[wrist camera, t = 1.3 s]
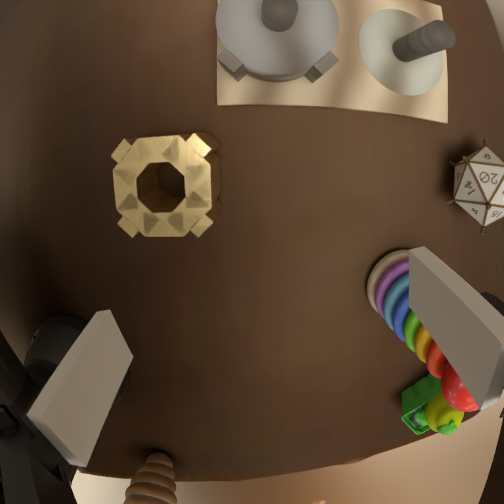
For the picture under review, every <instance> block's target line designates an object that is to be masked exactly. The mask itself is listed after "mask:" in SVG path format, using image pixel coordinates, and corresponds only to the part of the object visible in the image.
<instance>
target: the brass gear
mask: <svg viewBox="0 0 504 504" xmlns="http://www.w3.org/2000/svg"><path fill="white" fill-rule="evenodd" d="M219 146H220V144H219V143H218V142H217V141H216V140H215V139H214V138H213V137H212V136H211V135H210V134H208V133H207V132H200V133H194V134H177V135H163V136H154V137H149V136H141V137H133V138H126V139H123V141H122V142H121V143H120V144H119V146H118V147H117V148H116V150H115V151H114V152H113V154H112V155H111V157H112V158H113V159H114V160H115V161H116V162H118V164H117V165H116V167H115V168H114V169H113V179H114V190H115V200H116V209H117V211H118V212H119V213H120V214H121V215H122V216H123V217H122V218H121V219H120V221H119V222H118V223H117V224H118V225H119V226H120V227H121V228H122V229H123V230H124V231H126V232H127V233H128V234H129V235H130V236H131V237H132V238H133V237H134V236H135V235H136V234H137V233H138V232H139V231H140V232H141V233H142V234H143V235H144V236H145V237H184V236H185V235H186V234H187V233H188V232H189V231H192V232H193V233H194V234H195V235H196V236H197V237H198V238H199V237H200V236H201V235H202V234H203V233H204V231H205V230H206V229H207V228H208V227H209V226H210V225H211V224H212V223H213V222H214V220H215V218H216V216H217V214H218V212H219V210H220V208H221V205H222V204H221V203H220V202H219V201H218V200H217V198H218V196H219V194H220V193H221V186H220V157H219V156H218V155H217V154H216V153H215V152H214V151H215V150H216V149H217V148H218V147H219ZM163 162H170V163H171V164H172V165H173V166H174V167H175V168H176V169H177V170H178V171H179V172H181V173H182V174H183V175H184V176H185V194H186V196H181V197H171V196H170V195H169V194H168V193H167V192H166V191H165V190H164V189H162V188H161V187H160V186H159V175H158V168H159V167H160V166H161V165H162V163H163Z"/></svg>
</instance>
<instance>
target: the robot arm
mask: <svg viewBox="0 0 504 504" xmlns="http://www.w3.org/2000/svg"><path fill="white" fill-rule="evenodd" d="M409 307H410V308H411V309H412V311H413V312H414V313H415V315H416V316H417V317H418V319H419V320H420V322H421V323H422V324H423V326H424V327H425V328H426V330H427V331H428V333H429V334H430V335H431V337H432V338H433V340H434V341H435V342H436V344H437V345H438V347H439V348H440V349H441V351H442V352H443V354H444V355H445V357H446V358H447V360H448V361H449V363H450V364H451V365H452V367H453V368H454V370H455V371H456V373H457V374H458V376H459V377H460V379H461V381H462V382H463V384H464V385H465V387H466V388H467V390H468V391H469V393H470V394H471V396H472V398H473V399H474V401H475V402H476V404H477V406H478V407H479V409H480V410H482V409H484V408H486V407H488V406H490V405H492V404H494V403H496V402H498V401H499V399H500V396H501V394H502V391H503V389H504V303H503V302H502V301H501V300H500V299H499V298H498V297H496V296H494V295H492V294H489V293H487V292H484V293H481V294H479V293H478V292H477V291H476V290H475V289H474V288H472V287H471V286H470V285H469V284H468V283H467V282H466V281H465V280H463V279H462V278H461V277H460V276H459V275H458V274H457V273H455V272H454V271H453V270H452V269H451V268H450V267H448V266H447V265H446V264H445V263H444V262H443V261H441V260H440V259H439V258H438V257H437V256H435V255H434V254H433V253H432V252H430V251H429V250H428V249H427V248H426V247H424V246H423V247H419V248H414V249H410V250H409ZM132 359H133V355H132V354H131V352H130V350H129V348H128V346H127V344H126V342H125V340H124V338H123V336H122V334H121V332H120V330H119V328H118V325H117V323H116V321H115V319H114V317H113V315H112V313H111V310H105V311H98V312H96V314H95V315H94V316H93V318H92V319H91V320H90V322H89V323H88V322H86V321H84V320H81V319H79V318H76V317H73V316H68V315H55V316H51V317H49V318H47V319H46V320H44V321H43V322H42V324H41V325H40V326H39V327H38V328H37V329H36V331H35V332H34V334H33V336H32V339H31V344H30V348H29V350H28V352H27V355H26V358H25V361H24V364H23V365H22V363H21V362H20V360H19V359H18V357H17V356H16V354H15V353H14V351H13V350H12V348H11V347H10V345H9V343H8V342H7V340H6V339H5V337H4V335H3V334H2V332H1V330H0V504H77V502H76V499H75V497H74V494H73V492H72V489H71V484H72V480H73V478H74V475H75V473H76V470H77V468H78V466H82V467H86V466H87V464H88V461H89V458H90V456H91V453H92V451H93V448H94V446H95V444H96V441H97V439H98V436H99V434H100V431H101V429H102V427H103V424H104V422H105V419H106V417H107V415H108V412H109V410H110V408H111V407H112V406H114V405H115V404H116V403H117V402H119V401H120V399H121V398H122V397H123V395H124V393H125V390H126V388H127V386H128V383H129V369H128V367H129V365H130V363H131V361H132ZM503 415H504V408H503V411H502V412H501V415H500V418H502V417H503V421H502V426H501V431H500V435H499V439H498V443H497V447H496V451H495V455H494V458H493V462H492V465H491V469H490V472H489V475H488V478H487V481H486V484H485V487H484V490H483V493H482V496H481V498H480V501H479V504H504V416H503Z"/></svg>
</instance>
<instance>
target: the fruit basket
mask: <svg viewBox="0 0 504 504" xmlns="http://www.w3.org/2000/svg"><path fill="white" fill-rule="evenodd" d="M402 411H403V412H402V420H403V421H404V422H405V423H406V424H407V425H408V426H409V427H410V428H411V429H412V430H413V432H414V433H416V434H422V433H424V432H425V431H427V430H429V429H430V428H431V429H432V430H433V431H436V432H438V433H441V434H446V435H448V434H452V433H453V432H455V431H456V429H457V427H458V426H459V425H460V423H461V421H462V418H463V415H464V411H459V410H456V409H454V408H453V407H451V406H450V405H449V404H448V403H447V401H446V400H445V398H444V396H443V394H442V390H441V378H437V377H434V376H433V375H432V374H431V373H429V374H428V375H427V377H424V378H422V379H421V380H419V381H418V382H416V383H415V384H414V385H413V386H411V387H409V388H407V389H406V390H404V391H403V392H402Z"/></svg>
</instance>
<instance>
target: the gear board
mask: <svg viewBox="0 0 504 504" xmlns="http://www.w3.org/2000/svg"><path fill="white" fill-rule="evenodd" d="M216 28H217V56H216V58H217V105H218V106H244V105H269V106H303V107H321V108H335V109H347V110H357V111H366V112H375V113H383V114H390V115H397V116H404V117H410V118H416V119H422V120H428V121H433V122H438V123H447V119H448V84H447V60H446V49H449V48H451V47H453V46H454V44H455V34H454V32H453V30H452V28H451V27H450V26H449V25H448V24H447V23H445V22H444V21H443V17H442V9H441V6H438V5H435V4H432V3H428V2H425V1H422V0H218V8H217V11H216Z"/></svg>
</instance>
